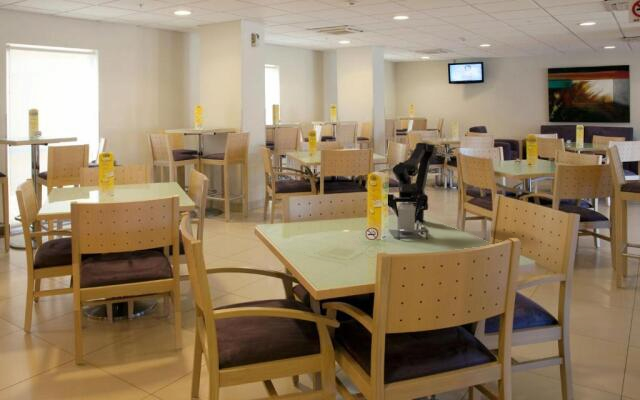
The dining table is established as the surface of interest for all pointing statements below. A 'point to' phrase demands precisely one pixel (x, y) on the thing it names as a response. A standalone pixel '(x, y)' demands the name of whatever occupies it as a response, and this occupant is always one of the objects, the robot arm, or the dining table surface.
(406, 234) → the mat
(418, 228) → the rail
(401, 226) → the can
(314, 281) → the dining table surface
